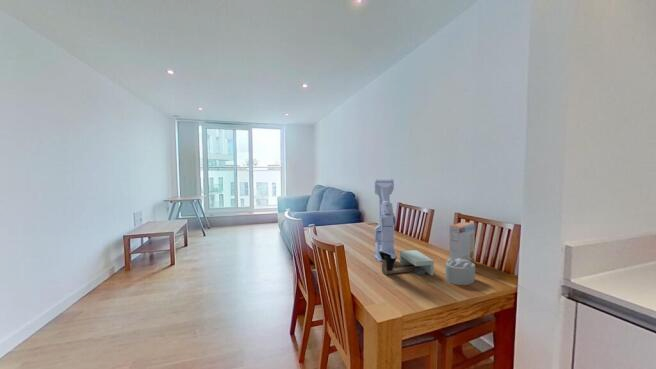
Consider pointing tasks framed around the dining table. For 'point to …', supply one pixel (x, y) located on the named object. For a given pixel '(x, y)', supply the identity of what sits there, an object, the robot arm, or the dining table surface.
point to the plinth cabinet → (417, 260)
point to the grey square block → (418, 271)
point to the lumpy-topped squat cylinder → (460, 271)
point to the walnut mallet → (396, 270)
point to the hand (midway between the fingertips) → (387, 268)
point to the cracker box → (462, 241)
